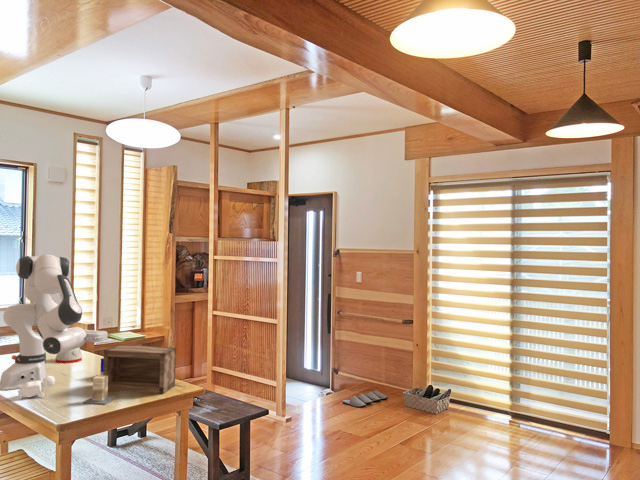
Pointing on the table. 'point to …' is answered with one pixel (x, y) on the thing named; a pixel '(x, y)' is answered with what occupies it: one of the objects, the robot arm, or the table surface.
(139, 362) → the brown wooden box
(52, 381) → the white animal figurine
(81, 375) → the table surface
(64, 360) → the kitchen timer
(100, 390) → the beech block
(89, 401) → the slate mat
